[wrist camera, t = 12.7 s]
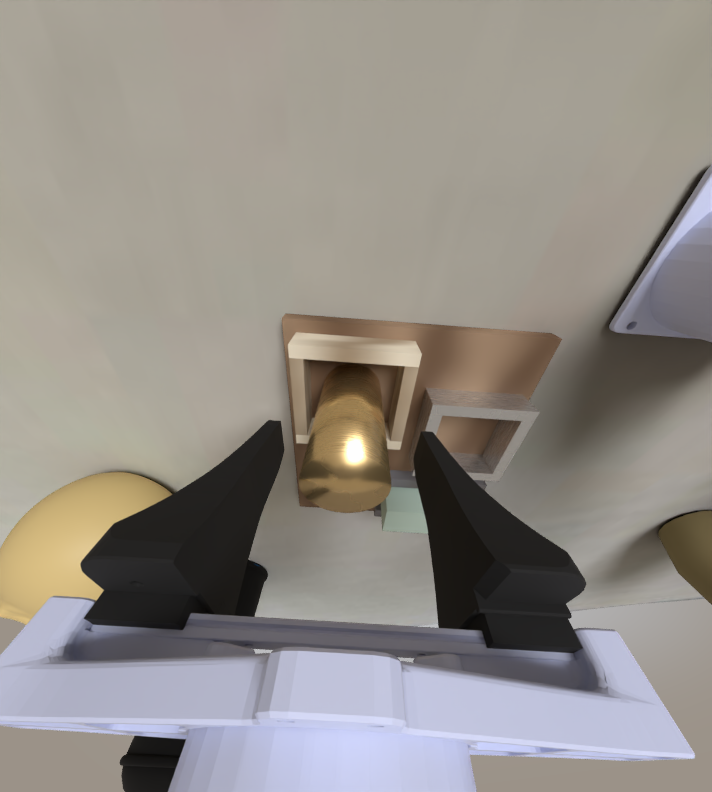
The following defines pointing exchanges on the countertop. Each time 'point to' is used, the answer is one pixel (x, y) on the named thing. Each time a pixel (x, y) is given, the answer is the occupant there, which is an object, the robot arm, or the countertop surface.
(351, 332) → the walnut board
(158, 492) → the sculpture
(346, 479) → the brass cylinder plug
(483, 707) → the robot arm
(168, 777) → the aerosol can
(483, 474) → the steel socket
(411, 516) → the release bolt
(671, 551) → the squeeze bottle
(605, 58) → the countertop surface
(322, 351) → the ash socket frame
